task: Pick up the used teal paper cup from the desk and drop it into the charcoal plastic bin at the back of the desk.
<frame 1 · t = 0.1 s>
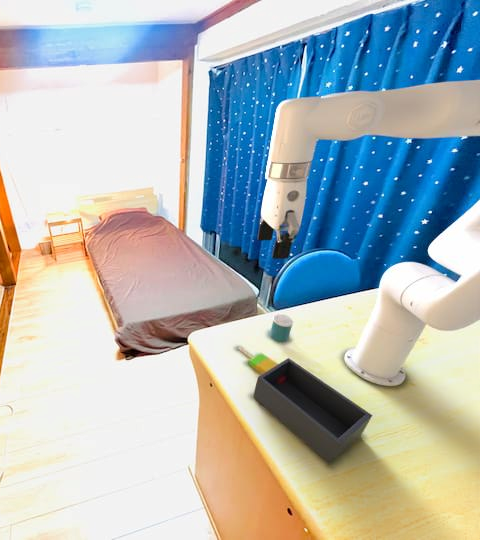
hand: (271, 248, 63), 37 cm above the table, tool pointing down, fingers open, 9 cm apart
popsicle: (259, 364, 81), on the table, touching bin
bin: (302, 415, 67), on the table
paper cup: (278, 336, 90), on the table
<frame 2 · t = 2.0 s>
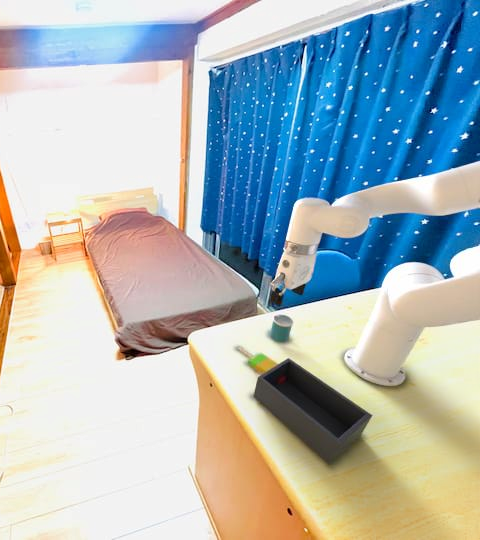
hand: (286, 298, 82), 15 cm above the table, tool pointing down, fingers open, 9 cm apart
nothing on the table moved.
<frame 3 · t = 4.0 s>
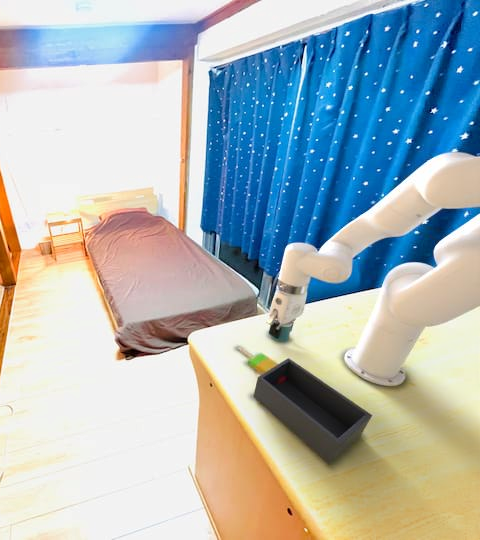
hand: (280, 332, 89), 2 cm above the table, tool pointing down, fingers closed on paper cup, 5 cm apart
paper cup: (278, 336, 90), on the table, touching gripper
everything else where it was.
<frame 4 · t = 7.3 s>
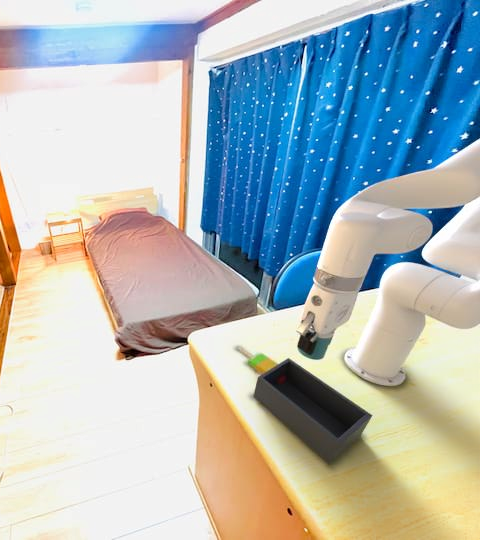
hand: (313, 345, 62), 18 cm above the table, tool pointing down, fingers closed on paper cup, 5 cm apart
paper cup: (310, 351, 63), point 16 cm above the table, touching gripper
everything else where it was.
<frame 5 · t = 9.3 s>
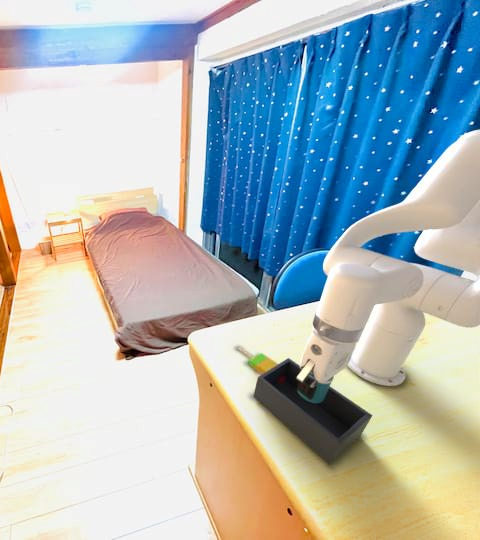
hand: (312, 387, 62), 10 cm above the table, tool pointing down, fingers closed on paper cup, 5 cm apart
paper cup: (310, 392, 63), point 8 cm above the table, touching gripper
everything else where it was.
when the fingers open (7 cm above the table, at t = 10.6 s): paper cup drops 4 cm, resting on bin.
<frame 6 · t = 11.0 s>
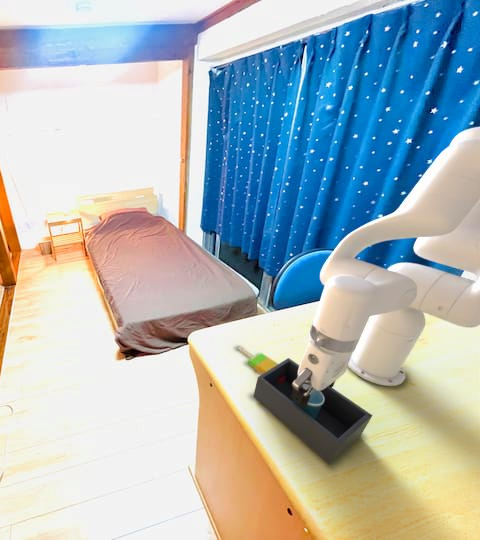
hand: (311, 392, 63), 8 cm above the table, tool pointing down, fingers open, 9 cm apart
paper cup: (302, 413, 66), point 1 cm above the table, touching bin
everything else where it was.
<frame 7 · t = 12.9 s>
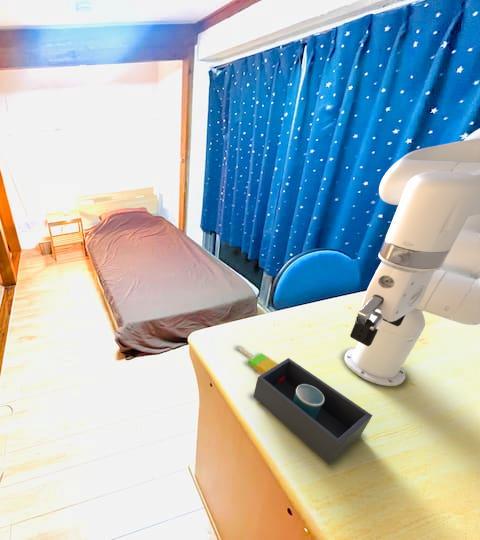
hand: (374, 331, 54), 26 cm above the table, tool pointing down, fingers open, 9 cm apart
nothing on the table moved.
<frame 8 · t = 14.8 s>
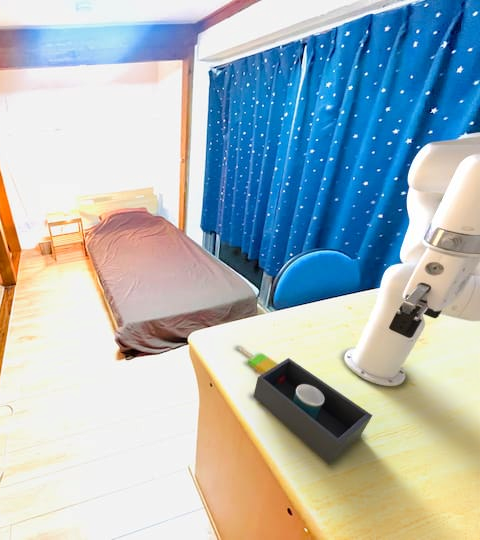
hand: (413, 323, 52), 28 cm above the table, tool pointing down, fingers open, 9 cm apart
nothing on the table moved.
at the end: paper cup inside the target area in the bin (0.1 cm from its centre), point 0.6 cm above the bin's base; the gripper is holding nothing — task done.
